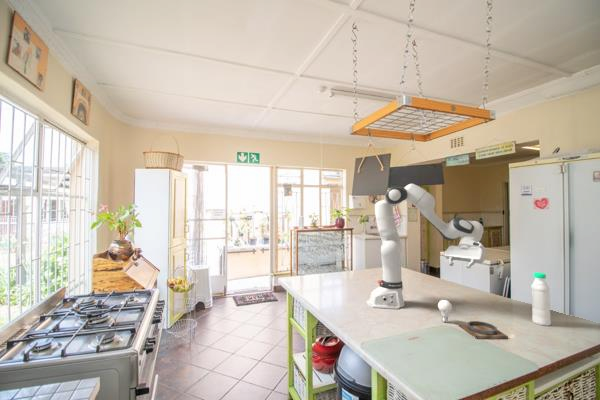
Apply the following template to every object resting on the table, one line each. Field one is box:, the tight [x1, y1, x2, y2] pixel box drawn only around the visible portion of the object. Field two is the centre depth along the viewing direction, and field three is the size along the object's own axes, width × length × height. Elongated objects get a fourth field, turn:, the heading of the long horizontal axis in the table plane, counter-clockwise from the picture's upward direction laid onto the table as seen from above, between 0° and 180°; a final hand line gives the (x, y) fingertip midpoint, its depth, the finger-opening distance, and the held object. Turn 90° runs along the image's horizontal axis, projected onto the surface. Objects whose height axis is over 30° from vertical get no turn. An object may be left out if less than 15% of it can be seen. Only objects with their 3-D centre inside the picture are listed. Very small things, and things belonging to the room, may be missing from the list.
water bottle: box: [530, 271, 552, 327], centre depth 141 cm, size 7×7×25 cm
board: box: [458, 322, 509, 340], centre depth 131 cm, size 14×14×1 cm
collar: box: [467, 320, 498, 335], centre depth 131 cm, size 12×12×2 cm
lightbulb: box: [437, 299, 453, 323], centre depth 143 cm, size 6×6×11 cm
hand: (459, 266), depth 151 cm, fingers open, 8 cm apart
